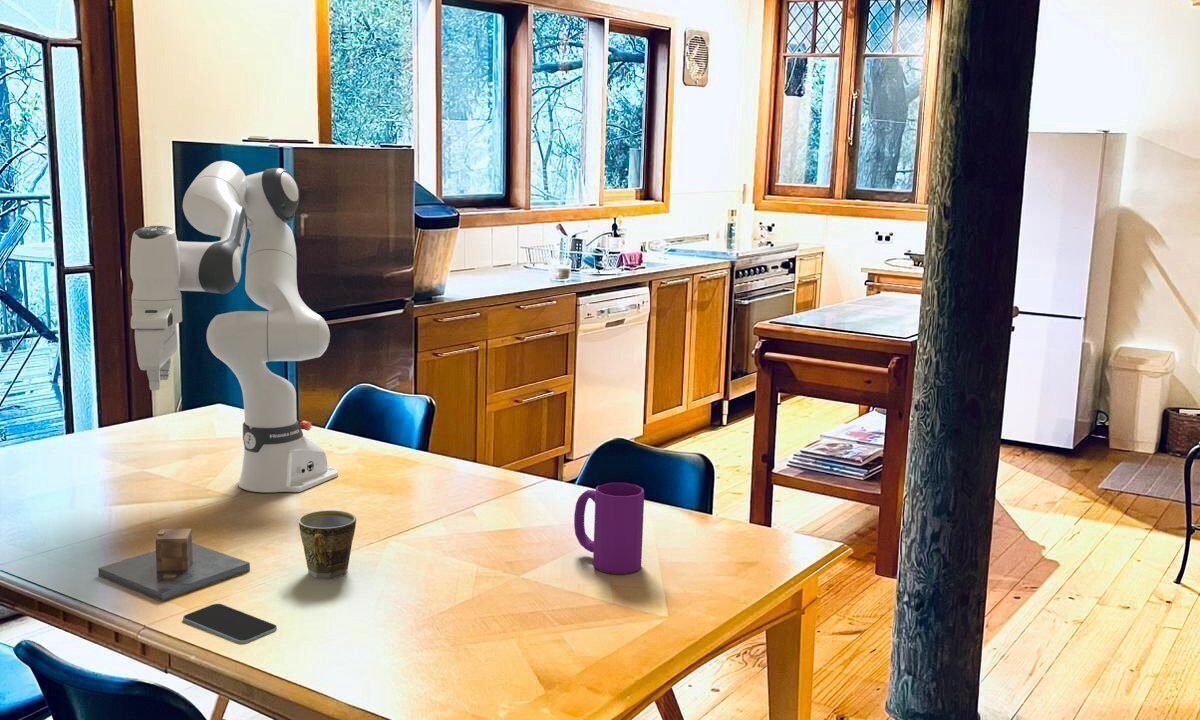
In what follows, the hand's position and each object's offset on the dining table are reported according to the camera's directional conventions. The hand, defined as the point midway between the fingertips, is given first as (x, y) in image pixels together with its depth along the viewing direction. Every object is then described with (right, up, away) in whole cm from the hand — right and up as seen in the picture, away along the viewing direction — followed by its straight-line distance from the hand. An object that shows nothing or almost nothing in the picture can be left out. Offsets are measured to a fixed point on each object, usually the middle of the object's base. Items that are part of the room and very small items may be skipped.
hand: (160, 384), depth 220 cm
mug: (+85, -34, -4) cm, 92 cm away
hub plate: (+9, -33, -17) cm, 38 cm away
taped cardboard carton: (+9, -32, -17) cm, 37 cm away
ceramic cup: (+35, -34, -15) cm, 51 cm away
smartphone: (+25, -38, -37) cm, 59 cm away
